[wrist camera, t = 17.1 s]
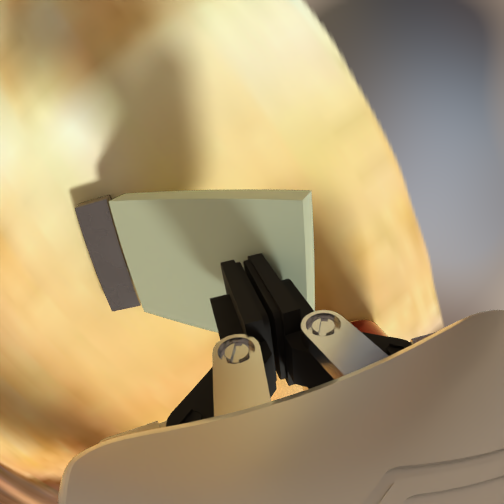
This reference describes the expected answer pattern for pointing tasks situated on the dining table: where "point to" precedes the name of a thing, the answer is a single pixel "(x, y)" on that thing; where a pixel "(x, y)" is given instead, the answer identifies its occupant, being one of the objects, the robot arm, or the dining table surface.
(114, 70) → the dining table surface
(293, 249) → the plate
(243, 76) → the dining table surface
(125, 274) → the hinge foot
